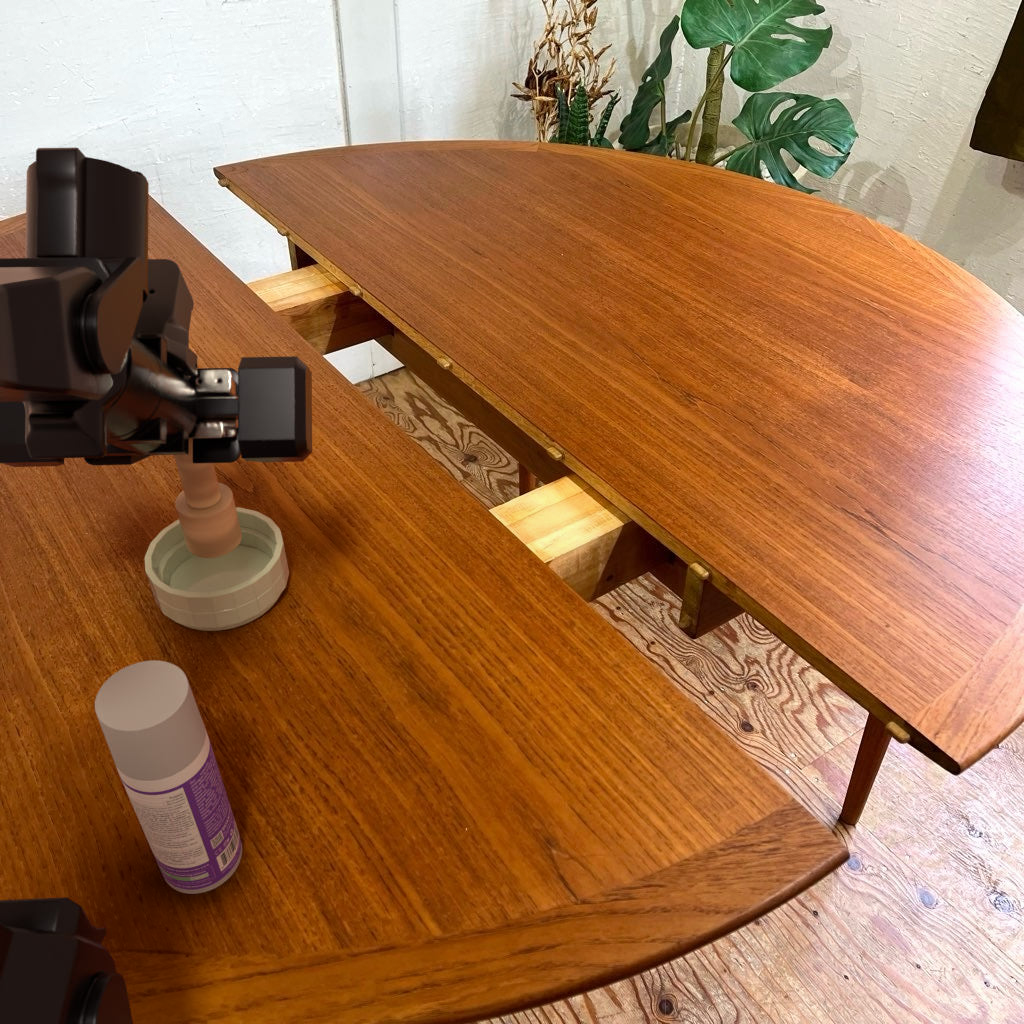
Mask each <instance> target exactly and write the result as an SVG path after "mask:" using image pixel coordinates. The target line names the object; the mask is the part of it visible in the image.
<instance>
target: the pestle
mask: <svg viewBox="0 0 1024 1024" xmlns="http://www.w3.org/2000/svg"><path fill="white" fill-rule="evenodd" d="M189 377H190V376H189ZM173 458H174V462H175V465H176V468H177V472H178V476H179V479H180V483H181V487H182V491H181V492H179V494H177V496H176V499H175V502H174V504H175V505H174V507H175V510H176V514H177V517H178V519H179V521H180V524H181V528H182V531H183V535H184V539H185V542H186V546H187V548H188V550H189V551H190V552H191V553H192V554H193V555H195V556H198V557H201V558H216V557H220V556H223V555H226V554H228V553H230V552H231V551H233V550H234V549H235V548H236V547H237V546H238V545H239V544H240V542H241V539H242V533H241V528H240V524H239V519H238V515H237V511H236V507H237V506H236V501H235V498H234V493H233V491H232V489H231V488H230V487H229V486H228V485H226V484H224V483H221V482H219V481H218V477H217V471H216V469H215V463H193V439H189V455H173Z"/></svg>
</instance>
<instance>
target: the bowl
mask: <svg viewBox="0 0 1024 1024" xmlns="http://www.w3.org/2000/svg"><path fill="white" fill-rule="evenodd" d="M236 511H237V515H238V519H239V524H240V528H241V533H242V539H241V542H240V544H239V545H238V546H237V547H236V548H235V549H234V550H233V551H231V552H230V553H228V554H226V555H223V556H220V557H216V558H201V557H198V556H195V555H193V554H192V553H191V552H190V551H189V550H188V548H187V546H186V542H185V539H184V535H183V531H182V528H181V524H180V521H179V518H177V519H176V520H175V521H174V522H171V523H170V524H168V526H165V527H164V528H163V529H161V530H160V531H159V533H158V534H157V535H156V536H155V537H154V538H153V539H152V541H151V542H150V543H149V545H148V548H147V550H146V553H145V555H144V570H145V574H146V578H147V581H148V583H149V587H150V590H151V593H152V596H153V599H154V602H155V604H156V605H157V607H158V608H159V610H160V611H161V613H162V614H163V615H164V616H166V617H167V618H168V619H170V620H171V621H174V622H175V623H177V624H179V625H181V626H184V627H185V628H189V629H192V630H197V631H204V632H216V631H225V630H230V629H235V628H238V627H241V626H244V625H247V624H249V623H250V622H253V621H255V620H257V619H258V618H260V617H261V616H263V615H265V613H267V612H268V611H269V610H270V609H271V608H272V607H273V606H274V605H275V604H276V603H277V601H278V600H279V598H280V596H281V595H282V593H283V591H284V590H286V588H287V583H288V579H289V575H290V570H289V565H288V559H287V554H286V549H285V544H284V539H283V535H282V530H281V529H280V527H279V526H278V525H277V523H275V522H274V520H273V519H272V518H271V517H268V516H267V515H265V514H264V513H262V512H259V511H257V510H253V509H248V508H244V507H238V506H236Z"/></svg>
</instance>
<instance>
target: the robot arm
mask: <svg viewBox="0 0 1024 1024" xmlns="http://www.w3.org/2000/svg"><path fill="white" fill-rule="evenodd" d="M25 189H26V192H25V193H26V194H25V195H26V196H25V243H24V244H25V248H24V249H25V251H24V257H13V258H12V257H7V258H6V257H5V258H3V257H2V258H0V464H2V465H6V466H9V467H13V468H34V467H36V468H37V467H39V468H40V467H59V466H63V465H65V459H83V460H84V461H85V463H87V464H88V465H89V466H131V465H134V464H137V463H138V462H141V461H143V460H145V459H146V458H150V457H152V456H174V455H189V439H193V463H213V464H231V463H235V462H236V461H238V460H239V459H240V457H241V459H242V460H244V461H246V462H255V463H296V462H298V463H300V462H305V461H306V459H308V458H309V456H310V455H311V454H312V453H313V372H312V371H311V370H310V368H309V366H308V365H307V364H306V363H305V362H303V361H302V360H301V359H300V357H298V356H292V355H291V356H242V357H241V359H240V361H239V364H238V368H237V369H235V368H232V367H210V368H209V367H205V368H204V367H203V368H199V367H198V354H197V353H195V352H194V351H193V350H192V349H191V348H190V327H191V319H192V311H193V310H194V305H195V304H194V303H195V302H194V298H193V296H192V294H191V292H190V289H189V286H188V285H187V283H186V281H185V278H184V276H183V273H182V270H181V269H180V267H179V264H177V263H176V261H174V260H172V259H169V258H168V259H167V258H149V189H150V188H149V181H148V179H147V177H146V176H145V175H144V174H143V173H142V172H140V171H138V170H137V171H136V170H132V169H130V168H128V167H125V166H123V165H120V164H118V163H114V162H111V161H108V160H104V159H98V158H94V157H89V156H86V155H85V154H84V153H83V152H82V150H81V149H80V148H79V147H38V148H37V149H35V161H33V162H31V164H29V165H28V167H27V169H26V187H25ZM189 376H190V377H189ZM106 935H107V927H97V926H94V925H93V924H92V922H91V921H90V920H89V918H88V916H87V914H86V912H85V910H84V909H83V907H82V905H80V904H79V903H77V902H75V900H74V901H73V900H72V899H70V898H69V897H66V896H65V897H44V898H43V897H42V898H40V897H39V898H17V899H16V898H15V899H0V1024H134V1021H133V1015H132V1010H131V1005H130V1000H129V994H128V988H127V983H126V980H125V978H124V976H123V974H121V973H119V972H118V970H117V967H116V961H115V960H114V958H113V956H112V954H111V953H110V951H109V949H107V948H106V946H104V945H102V943H103V942H104V939H105V937H106Z"/></svg>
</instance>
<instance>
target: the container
mask: <svg viewBox="0 0 1024 1024" xmlns="http://www.w3.org/2000/svg"><path fill="white" fill-rule="evenodd" d="M94 711H95V715H96V717H97V720H98V722H99V725H100V728H101V730H102V734H103V736H104V739H105V741H106V744H107V747H108V749H109V751H110V752H109V753H110V755H111V757H112V760H113V763H114V765H115V767H116V771H117V773H118V775H119V778H120V780H121V782H122V785H123V788H124V789H125V791H126V793H127V797H128V798H129V801H130V803H131V806H132V808H133V810H134V812H135V815H136V817H137V819H138V822H139V824H140V826H141V829H142V832H143V833H144V835H145V838H146V840H147V842H148V845H149V847H150V850H151V852H152V854H153V856H154V859H155V861H156V864H157V866H158V868H159V871H160V874H161V875H162V877H163V879H164V881H165V883H167V885H168V886H169V887H170V888H172V889H173V890H175V891H177V892H180V893H183V894H189V895H190V894H192V895H197V894H202V893H203V894H204V893H207V892H210V891H212V890H214V889H216V888H218V887H220V886H221V885H222V884H224V883H225V882H227V881H228V880H229V879H230V878H231V877H232V875H234V873H235V872H236V870H237V868H238V867H239V865H240V862H241V859H242V855H243V843H242V840H241V836H240V832H239V829H238V826H237V823H236V819H235V817H234V813H233V810H232V806H231V804H230V800H229V797H228V794H227V792H226V787H225V785H224V781H223V778H222V775H221V771H220V769H219V765H218V763H217V759H216V755H215V753H214V750H213V747H212V743H211V740H210V737H209V735H208V732H207V729H206V726H205V723H204V721H203V718H202V715H201V713H200V710H199V707H198V704H197V701H196V698H195V696H194V694H193V690H192V688H191V685H190V682H189V679H188V677H187V675H186V673H185V672H184V671H183V670H182V669H181V668H180V667H179V666H178V665H176V664H174V663H171V662H168V661H164V660H156V659H155V660H154V659H153V660H143V661H139V662H135V663H132V664H129V665H127V666H124V667H122V668H121V669H119V670H118V671H115V672H114V673H113V674H112V675H111V676H109V677H108V678H107V679H106V680H105V681H104V682H103V684H102V685H101V687H100V688H99V689H98V692H97V693H96V696H95V700H94Z"/></svg>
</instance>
